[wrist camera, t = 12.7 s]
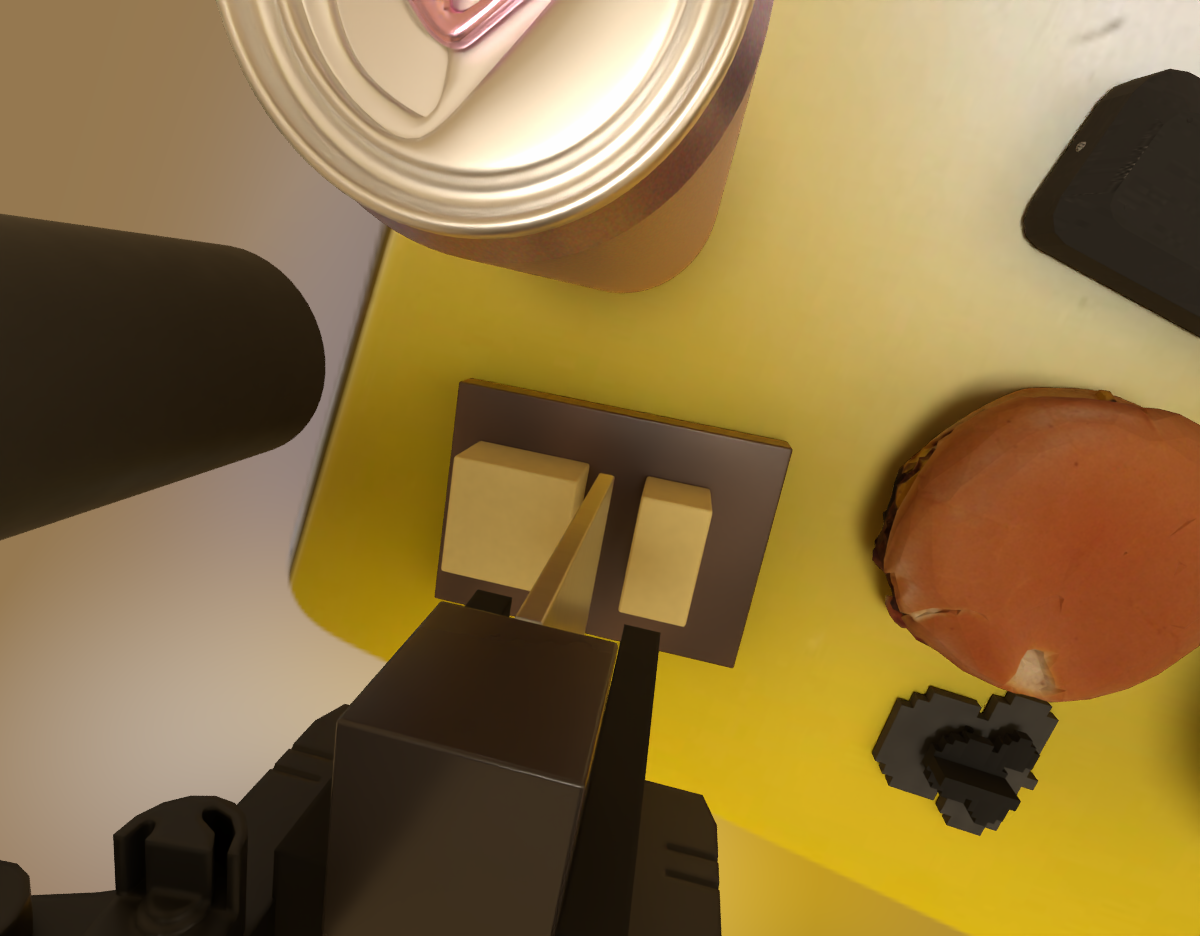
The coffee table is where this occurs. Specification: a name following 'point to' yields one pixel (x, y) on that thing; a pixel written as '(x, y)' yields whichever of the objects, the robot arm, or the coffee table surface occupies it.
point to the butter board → (631, 454)
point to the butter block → (509, 512)
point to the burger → (1050, 543)
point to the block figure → (965, 753)
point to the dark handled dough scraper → (473, 762)
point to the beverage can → (516, 121)
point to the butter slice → (666, 551)
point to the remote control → (1132, 196)
